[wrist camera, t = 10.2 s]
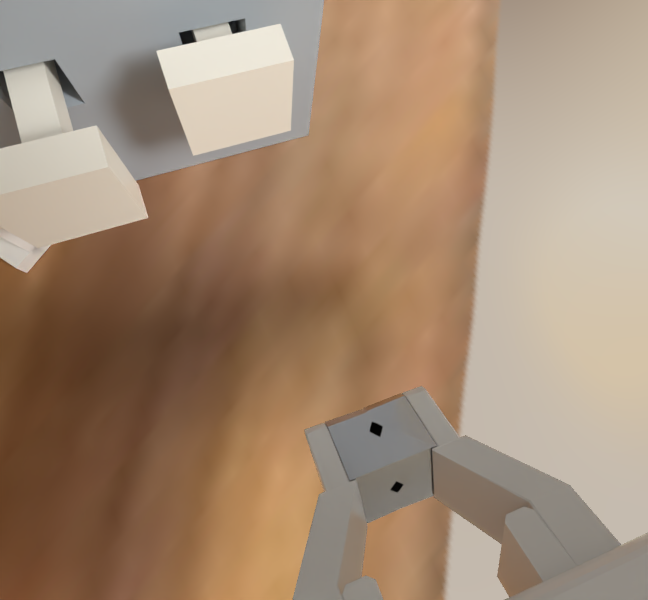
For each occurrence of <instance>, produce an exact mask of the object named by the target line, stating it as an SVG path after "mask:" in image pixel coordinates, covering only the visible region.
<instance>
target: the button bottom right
mask: <svg viewBox="0 0 648 600" xmlns="http://www.w3.org/2000/svg"><path fill="white" fill-rule="evenodd" d="M191 32H192V35H193V38H194V41H195V42H194V43H190V44H185V45H181V46H176V47H171V48H167V49H162V50H158V51H156V52H157V55H158V58H159V61H160V65H161V68H162V71H163V74H164V77H165V80H166V83H167V86H168V90H169V92H170V95H171V98H172V100H173V103H174V106H175V108H176V111H177V114H178V116H179V119H180V122H181V124H182V127H183V130H184V132H185V135H186V138H187V140H188V143H189V146H190V148H191V151H192V154H193V156H195V155H199V154H203V153H206V152H210V151H214V150H218V149H222V148H226V147H230V146H233V145H237V144H241V143H245V142H249V141H253V140H257V139H260V138H264V137H268V136H272V135H276V134H280V133H284V132H287V131H291V115H292V93H293V71H294V59H293V56H292V53H291V51H290V48H289V45H288V42H287V40H286V37H285V34H284V32H283V29H282V26H281V24H276V25H271V26H267V27H262V28H258V29H253V30H249V31H244V32H240V33H235V34H232V32H231V29H230V26H229V23H228V22H226V23H221V24H216V25H212V26H207V27H202V28H198V29H193V30H191Z"/></svg>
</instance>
